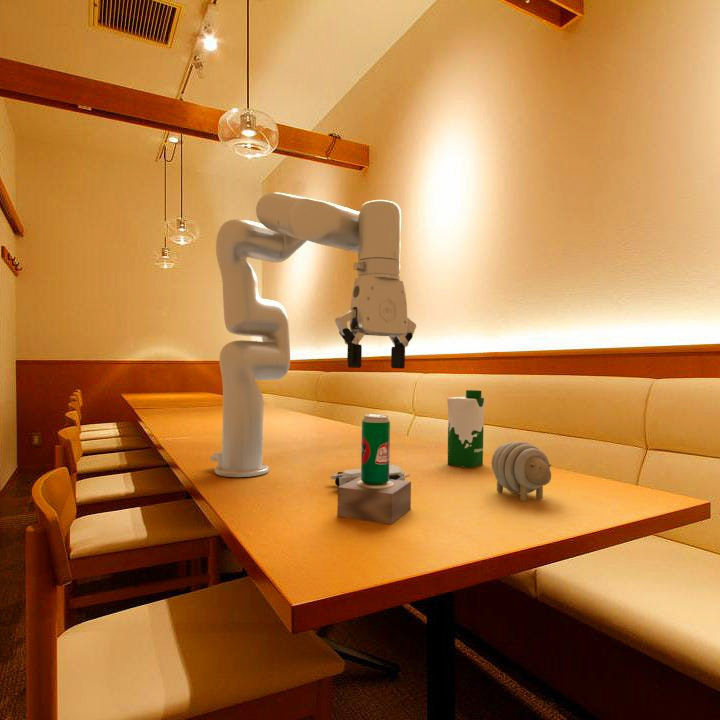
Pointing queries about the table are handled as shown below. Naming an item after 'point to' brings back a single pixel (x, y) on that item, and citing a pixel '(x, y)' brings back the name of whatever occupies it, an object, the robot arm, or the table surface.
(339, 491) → the base brick
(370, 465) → the soda can
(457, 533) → the table surface
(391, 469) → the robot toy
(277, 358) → the robot arm
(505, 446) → the toy sheep
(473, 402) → the milk carton
